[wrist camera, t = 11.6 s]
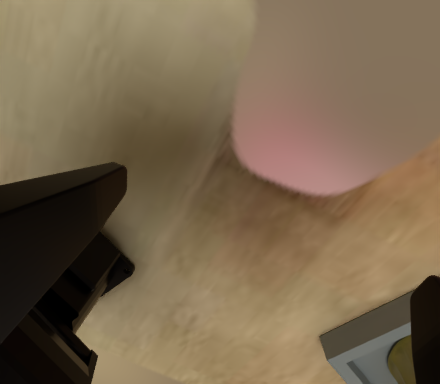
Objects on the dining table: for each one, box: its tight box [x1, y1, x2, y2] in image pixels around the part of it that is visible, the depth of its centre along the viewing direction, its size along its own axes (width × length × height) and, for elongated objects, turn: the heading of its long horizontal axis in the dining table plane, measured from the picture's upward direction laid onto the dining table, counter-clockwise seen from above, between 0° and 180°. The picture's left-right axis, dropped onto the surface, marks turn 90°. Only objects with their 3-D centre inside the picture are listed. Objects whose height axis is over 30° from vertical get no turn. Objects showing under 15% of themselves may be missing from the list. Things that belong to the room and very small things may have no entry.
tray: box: [320, 291, 413, 384], centre depth 22 cm, size 12×12×2 cm
